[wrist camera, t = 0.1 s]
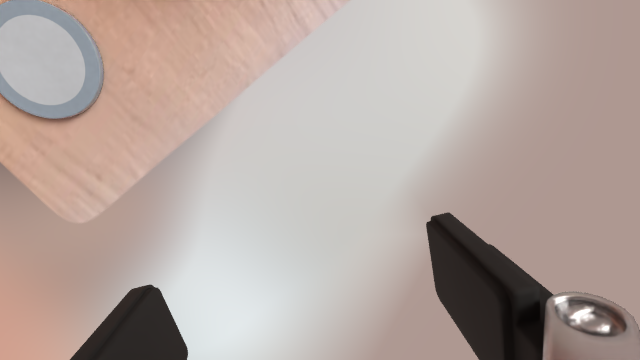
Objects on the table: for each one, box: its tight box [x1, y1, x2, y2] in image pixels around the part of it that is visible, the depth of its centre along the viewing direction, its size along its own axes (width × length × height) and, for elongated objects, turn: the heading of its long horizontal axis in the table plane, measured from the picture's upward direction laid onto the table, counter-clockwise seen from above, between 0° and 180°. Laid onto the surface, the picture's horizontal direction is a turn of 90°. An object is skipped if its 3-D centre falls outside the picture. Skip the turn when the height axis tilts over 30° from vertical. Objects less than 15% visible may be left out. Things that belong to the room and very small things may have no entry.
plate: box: [0, 0, 104, 119], centre depth 27 cm, size 10×10×1 cm
